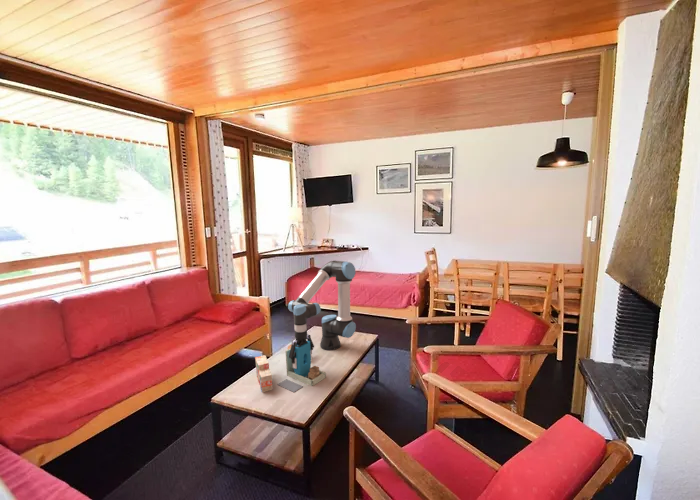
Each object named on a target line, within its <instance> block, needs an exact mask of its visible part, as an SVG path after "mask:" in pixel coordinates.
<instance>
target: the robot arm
mask: <svg viewBox="0 0 700 500" xmlns="http://www.w3.org/2000/svg"><path fill="white" fill-rule="evenodd" d="M356 271H357V270H356V267H355V265H354V264H353V263H352V262H350V261H345V260H331V261H329V262H327V263H326V264H324V265H322V267H321V268H320V269H319V270H318V271H317V274H316V276H315V277H314V278H313V279H312V280H311V282H310V283H309V284H308V285H307V286H306V288H305V289H304V290H303V291H302V292H301V293H300V294H299V296H298V297H296V299H293V300H290V301H289V302H288V304H287V305H288V306H287V309H288V310H289V311H290V312H291V313H293V324H294V325H293V326H294V327H293V328H294V338H295V340H294V341H293V340H292V341H291V344H292V345H291V344H290V345H291V349H290V353H289V358H291V359H292V363H293V368H295V369H296V368H297V362H296V358H295V357H296V352H294V351H295V347H300V346H301V345H304V344H305V343H306V344H307V343H308V342H307V341H310V350H311V361H312V360H313V359H312V358H313V357H312V354H313V351H314V348H315V345H314V342H313V341H312V337H311V334H308V326H307V325H308V324H307V322H308V321H307V319H309V318H312V317H314V316H317V315H319V314H320V313H321V310H322V309H321V304H319V303H318V302H313V303H309V302H310V301H312V299H313V297H315V295H316V294H317V292H318V291H319V290H321V287H323V285H324V284H325V283H326V282H327V281H329V280H330V279H331V278H335V282H336V283H337V309H338V310H337V314H328V315H323V317H322V318H321V334H322V335H321V340H320V343H319V344H320V345H319V346H320V349H323V350H326V351H333V350H337V349H339V348H340V347H341V340H340V338H339V337H342V338H347V339H349V338H351V337H352V336H353V335H354V334H355V332H356V328H357V325H356V323H355V322H354V321H353V317H352V316H351V282H353V279H354V278H355V276H356ZM297 344H298V345H299V346H297Z"/></svg>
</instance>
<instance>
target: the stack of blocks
mask: <svg viewBox="0 0 700 500" xmlns="http://www.w3.org/2000/svg"><path fill="white" fill-rule="evenodd" d="M254 359H255V370H256V371H255V373H256V378H257V382H258V385H259V389H260V391H261V393H265V392H269V391H273V374H272V372H271V369H270V364H269V361H268V358H267V356H266V354H265V355H264V354H263V355H260V356H255V357H254Z"/></svg>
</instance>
